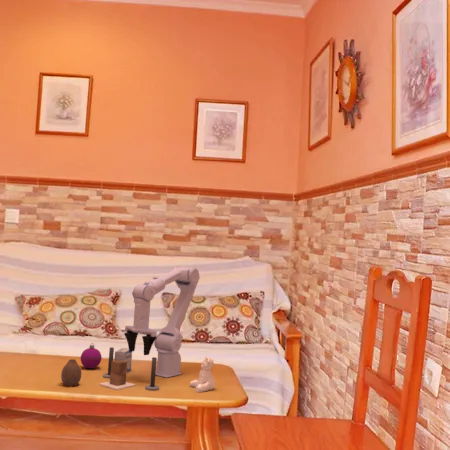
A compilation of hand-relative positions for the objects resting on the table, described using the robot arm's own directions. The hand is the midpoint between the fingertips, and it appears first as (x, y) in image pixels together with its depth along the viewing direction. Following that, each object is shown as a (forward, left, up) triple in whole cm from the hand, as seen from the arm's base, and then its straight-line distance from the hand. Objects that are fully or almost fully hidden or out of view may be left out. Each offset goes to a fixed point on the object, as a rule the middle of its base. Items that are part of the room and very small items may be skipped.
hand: (139, 353), depth 211 cm
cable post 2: (+4, +11, -10) cm, 16 cm away
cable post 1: (+4, -11, -10) cm, 16 cm away
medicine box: (-6, -14, -11) cm, 19 cm away
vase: (+22, -11, -11) cm, 27 cm away
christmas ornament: (0, -26, -11) cm, 28 cm away
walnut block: (+10, 0, -10) cm, 14 cm away
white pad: (+10, 0, -10) cm, 14 cm away
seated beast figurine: (-11, +23, -11) cm, 28 cm away
